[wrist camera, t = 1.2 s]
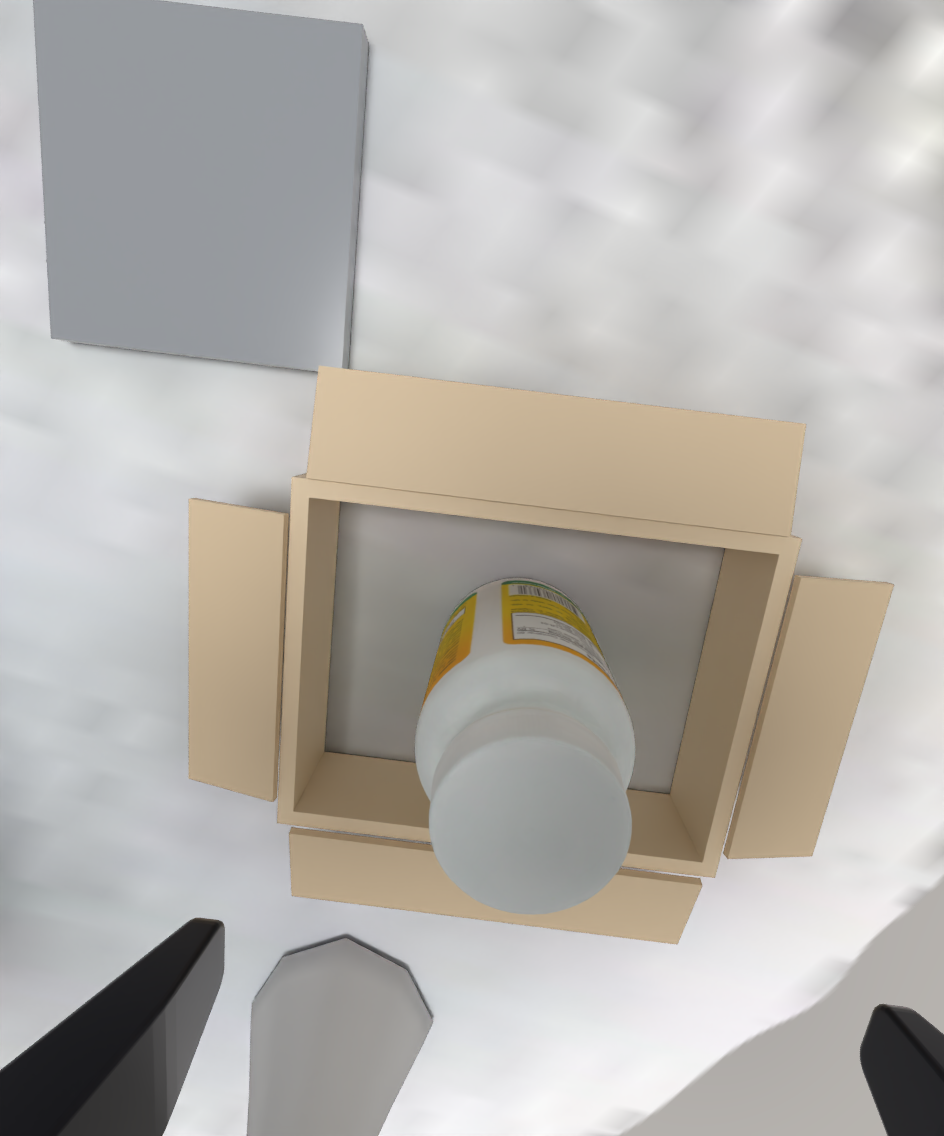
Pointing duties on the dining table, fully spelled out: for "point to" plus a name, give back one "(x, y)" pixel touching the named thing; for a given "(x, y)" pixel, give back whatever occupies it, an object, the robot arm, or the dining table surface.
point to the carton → (547, 498)
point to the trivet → (201, 178)
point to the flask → (332, 1042)
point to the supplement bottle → (525, 751)
